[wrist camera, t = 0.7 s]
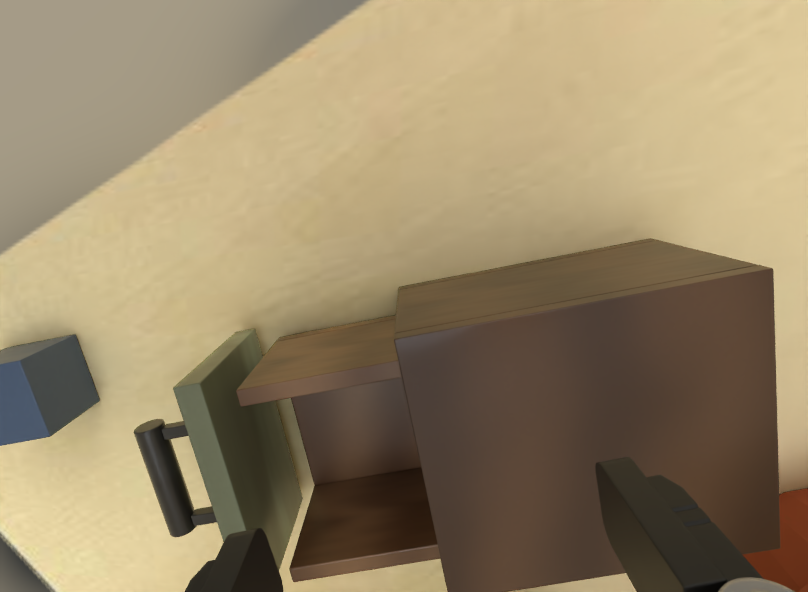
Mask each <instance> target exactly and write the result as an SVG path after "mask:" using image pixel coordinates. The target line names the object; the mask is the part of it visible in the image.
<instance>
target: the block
mask: <svg viewBox="0 0 808 592" xmlns="http://www.w3.org/2000/svg"><path fill="white" fill-rule="evenodd" d="M99 401H100V399H99V397H98V394H97V391H96V389H95V386H94V383H93V381H92V378H91V375H90V372H89V370H88V367H87V364H86V362H85V359H84V356H83V353H82V351H81V348H80V345H79V343H78V340H77V337H76V335H69V336H64V337H59V338H54V339H49V340H44V341H39V342H33V343H28V344H23V345H18V346H13V347H8V348H5V349H3V350H0V446H2V445H7V444H13V443H18V442H24V441H29V440H34V439H40V438H45V437H50V436H52V435H53V434H54V433H56V432H57V431H58V430H60V429H61V428H63V427H64V426H65V425H67V424H68V423H70V422H71V421H72V420H74V419H75V418H77V417H78V416H79V415H81V414H82V413H83V412H85V411H86V410H88V409H89V408H90V407H92V406H93V405H95V404H96V403H97V402H99Z"/></svg>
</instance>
